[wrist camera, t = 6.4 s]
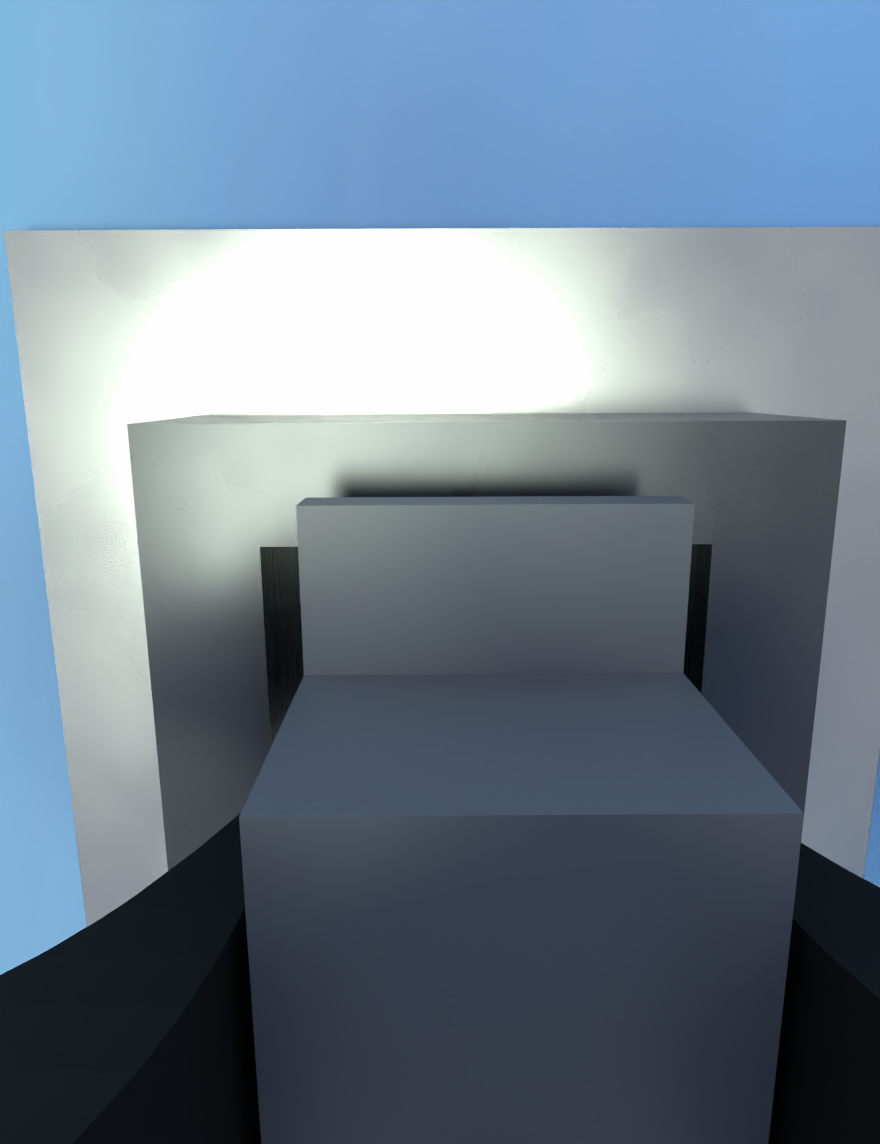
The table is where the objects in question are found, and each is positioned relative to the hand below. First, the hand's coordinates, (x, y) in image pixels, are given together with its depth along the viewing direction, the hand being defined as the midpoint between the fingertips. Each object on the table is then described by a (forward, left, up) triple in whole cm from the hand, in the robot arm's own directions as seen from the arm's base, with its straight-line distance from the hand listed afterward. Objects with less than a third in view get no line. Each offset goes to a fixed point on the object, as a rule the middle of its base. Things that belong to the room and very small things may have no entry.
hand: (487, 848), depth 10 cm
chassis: (0, 0, -4) cm, 4 cm away
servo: (0, 0, -2) cm, 3 cm away
